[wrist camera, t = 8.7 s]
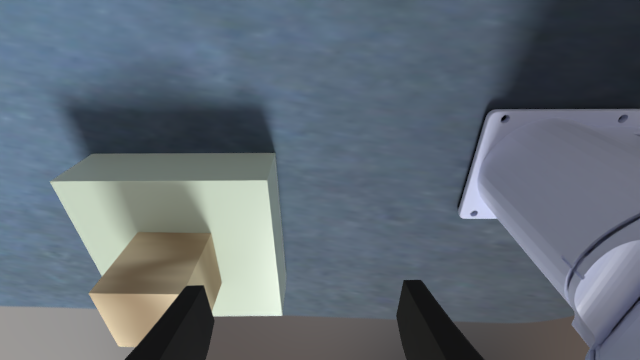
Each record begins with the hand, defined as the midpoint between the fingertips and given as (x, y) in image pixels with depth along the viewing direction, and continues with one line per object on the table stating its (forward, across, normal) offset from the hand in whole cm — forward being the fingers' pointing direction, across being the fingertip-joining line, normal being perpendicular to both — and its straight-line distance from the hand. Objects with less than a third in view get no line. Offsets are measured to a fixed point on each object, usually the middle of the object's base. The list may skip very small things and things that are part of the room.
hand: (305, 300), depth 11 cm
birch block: (+7, +8, +5) cm, 12 cm away
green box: (+11, +8, +5) cm, 15 cm away
